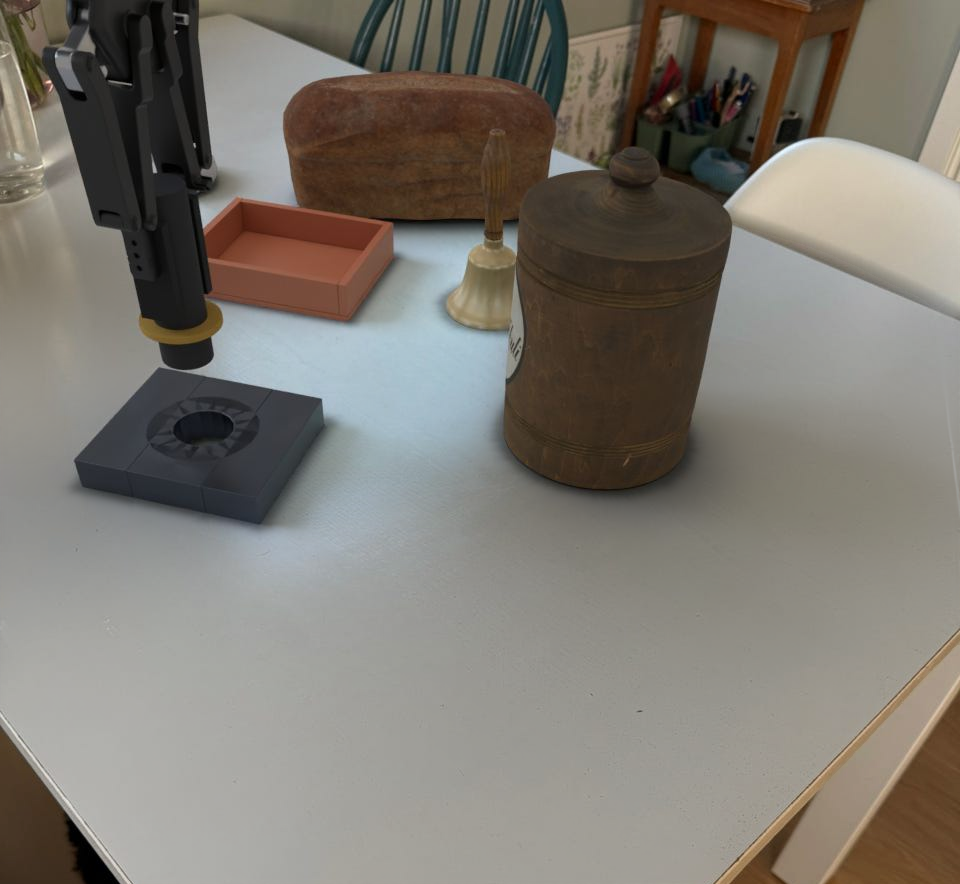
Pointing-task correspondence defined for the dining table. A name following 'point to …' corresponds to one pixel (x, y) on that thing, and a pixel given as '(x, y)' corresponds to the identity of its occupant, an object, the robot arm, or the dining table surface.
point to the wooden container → (611, 321)
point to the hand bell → (489, 251)
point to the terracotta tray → (295, 257)
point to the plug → (183, 285)
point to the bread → (412, 143)
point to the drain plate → (203, 468)
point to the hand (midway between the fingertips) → (177, 302)
